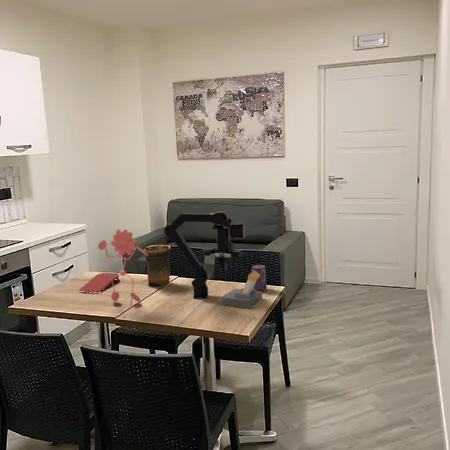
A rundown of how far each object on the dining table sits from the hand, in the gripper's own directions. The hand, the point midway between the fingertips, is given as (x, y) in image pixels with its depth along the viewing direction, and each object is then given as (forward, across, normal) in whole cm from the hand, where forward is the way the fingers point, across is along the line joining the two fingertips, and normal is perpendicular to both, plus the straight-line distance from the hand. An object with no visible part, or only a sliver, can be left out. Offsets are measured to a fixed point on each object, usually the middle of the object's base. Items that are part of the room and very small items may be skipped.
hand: (224, 270), depth 228 cm
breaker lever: (+9, -12, +3) cm, 16 cm away
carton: (+14, +72, +8) cm, 73 cm away
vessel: (+13, +43, -6) cm, 45 cm away
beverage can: (+13, -10, -16) cm, 23 cm away
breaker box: (+13, -10, +3) cm, 17 cm away
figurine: (+13, +40, +23) cm, 48 cm away
